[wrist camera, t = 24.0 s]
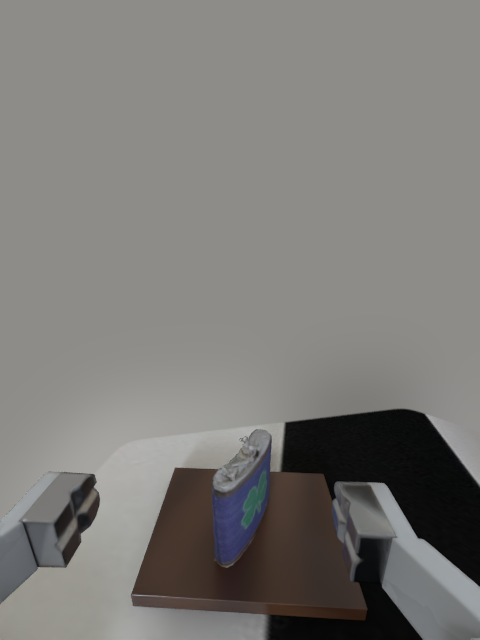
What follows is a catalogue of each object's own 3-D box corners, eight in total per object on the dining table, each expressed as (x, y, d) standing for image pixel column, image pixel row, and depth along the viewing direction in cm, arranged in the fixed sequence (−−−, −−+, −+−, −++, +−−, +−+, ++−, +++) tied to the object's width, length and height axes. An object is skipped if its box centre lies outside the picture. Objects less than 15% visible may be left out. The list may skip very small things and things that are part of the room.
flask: (255, 484, 31) (257, 411, 28) (276, 496, 30) (281, 421, 27) (207, 556, 24) (204, 468, 21) (232, 578, 22) (232, 486, 19)
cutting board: (322, 482, 33) (323, 473, 33) (365, 621, 21) (367, 609, 21) (175, 476, 34) (175, 467, 34) (132, 606, 22) (130, 595, 21)
